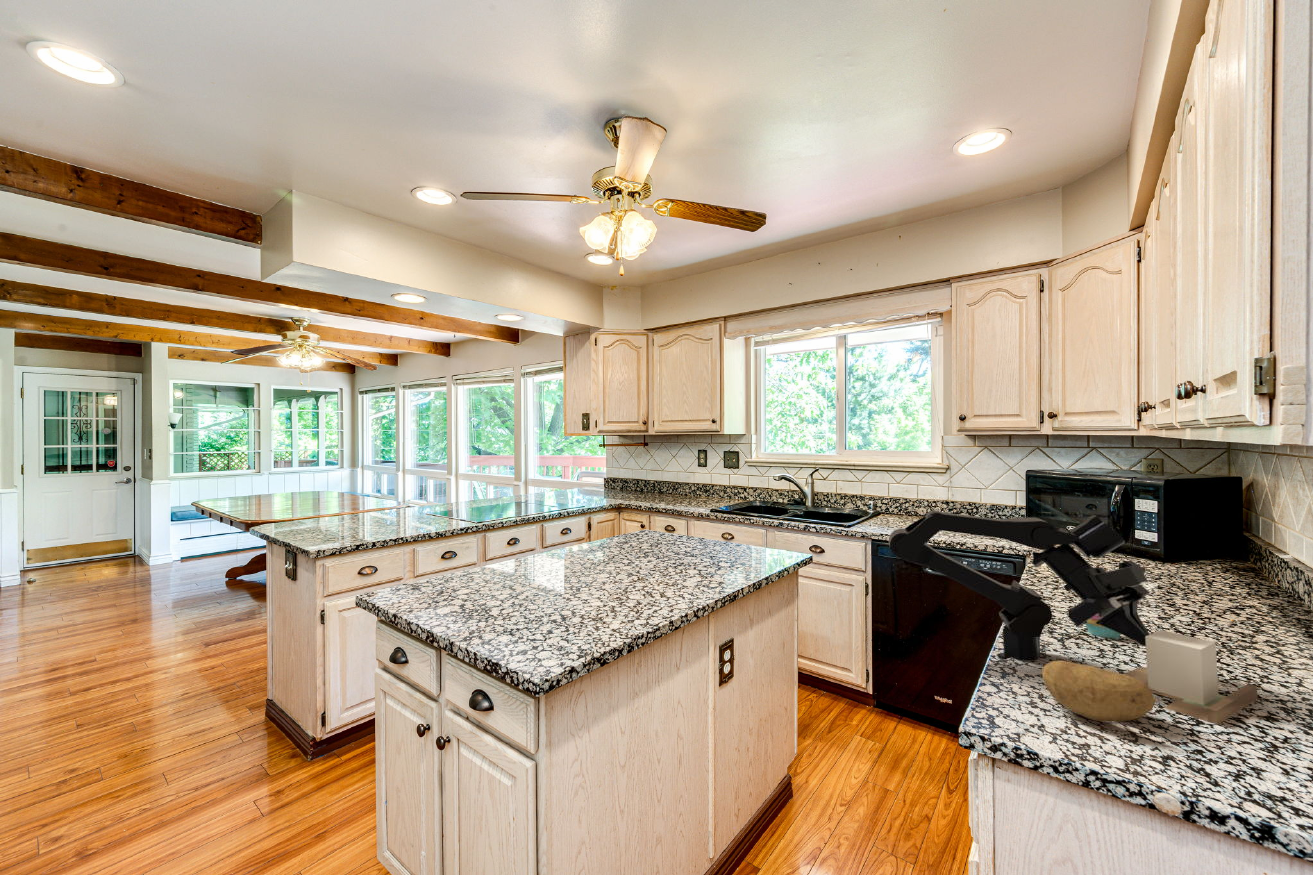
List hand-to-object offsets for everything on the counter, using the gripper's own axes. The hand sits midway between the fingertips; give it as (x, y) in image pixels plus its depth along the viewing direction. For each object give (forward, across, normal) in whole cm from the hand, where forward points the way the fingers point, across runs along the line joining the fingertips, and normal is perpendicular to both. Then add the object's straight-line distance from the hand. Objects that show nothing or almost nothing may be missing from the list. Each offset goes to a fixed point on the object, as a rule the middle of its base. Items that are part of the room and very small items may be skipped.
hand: (1152, 645), depth 93 cm
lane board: (+8, -1, +3) cm, 8 cm away
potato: (+5, -19, +6) cm, 21 cm away
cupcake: (-6, +22, +17) cm, 28 cm away
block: (+7, 0, +2) cm, 8 cm away
